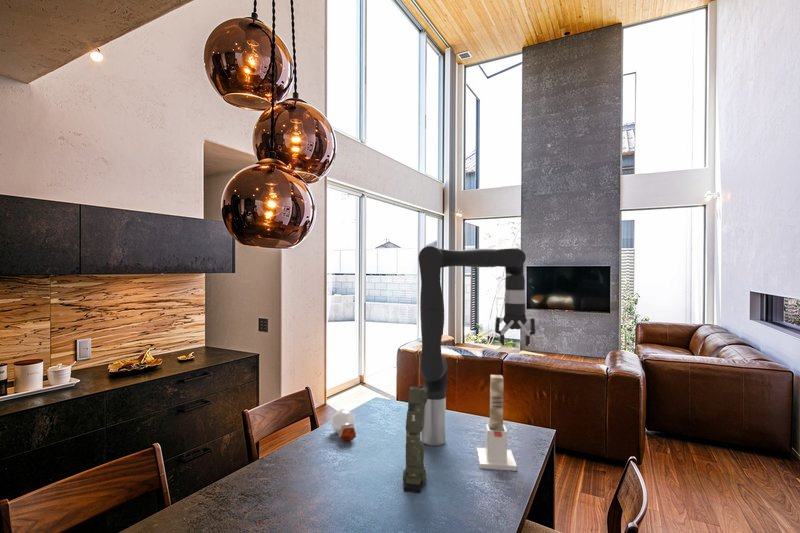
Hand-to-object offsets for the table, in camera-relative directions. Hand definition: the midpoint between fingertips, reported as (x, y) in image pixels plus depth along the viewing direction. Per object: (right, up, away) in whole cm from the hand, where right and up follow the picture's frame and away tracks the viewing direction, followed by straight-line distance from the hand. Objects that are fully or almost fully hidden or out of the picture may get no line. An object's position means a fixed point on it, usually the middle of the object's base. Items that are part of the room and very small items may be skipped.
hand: (514, 345), depth 147 cm
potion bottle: (-65, -38, +9) cm, 75 cm away
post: (-9, -30, -10) cm, 33 cm away
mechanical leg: (-38, -38, -24) cm, 59 cm away
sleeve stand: (-9, -38, -10) cm, 41 cm away
